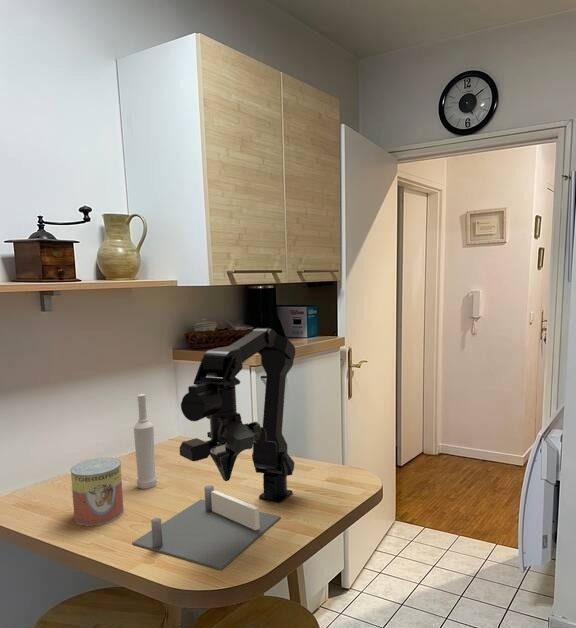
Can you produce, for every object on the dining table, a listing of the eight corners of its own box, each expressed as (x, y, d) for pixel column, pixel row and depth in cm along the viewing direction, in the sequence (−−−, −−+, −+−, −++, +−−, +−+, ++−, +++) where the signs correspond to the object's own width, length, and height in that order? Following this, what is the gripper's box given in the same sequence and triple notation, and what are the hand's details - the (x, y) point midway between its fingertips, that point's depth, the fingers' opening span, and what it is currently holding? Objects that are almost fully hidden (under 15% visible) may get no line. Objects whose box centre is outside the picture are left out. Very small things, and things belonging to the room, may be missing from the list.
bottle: (136, 483, 141) (130, 394, 139) (155, 480, 143) (150, 392, 141) (138, 490, 136) (132, 398, 134) (158, 486, 138) (152, 395, 136)
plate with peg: (200, 500, 128) (199, 477, 127) (280, 518, 117) (279, 493, 116) (132, 544, 108) (130, 517, 107) (221, 570, 97) (219, 540, 96)
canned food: (78, 530, 115) (75, 478, 114) (70, 512, 124) (66, 464, 123) (129, 516, 121) (126, 467, 120) (117, 500, 130) (114, 454, 129)
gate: (203, 508, 121) (202, 487, 121) (210, 505, 123) (209, 484, 123) (253, 531, 109) (252, 508, 109) (261, 527, 111) (260, 504, 110)
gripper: (204, 425, 96) (209, 505, 97) (280, 406, 108) (283, 478, 109) (176, 415, 105) (180, 489, 106) (249, 398, 117) (252, 465, 118)
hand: (226, 480), depth 110 cm, fingers closed
